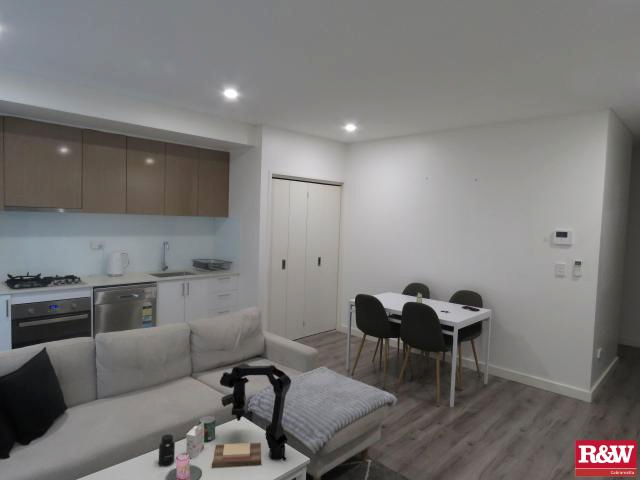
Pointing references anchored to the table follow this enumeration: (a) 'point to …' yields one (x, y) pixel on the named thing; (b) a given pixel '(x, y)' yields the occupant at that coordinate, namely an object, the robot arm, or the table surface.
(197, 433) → the ink cartridge box
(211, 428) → the canned tomato
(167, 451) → the supplement bottle
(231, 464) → the display board
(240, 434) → the table surface
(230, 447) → the kraft carton
